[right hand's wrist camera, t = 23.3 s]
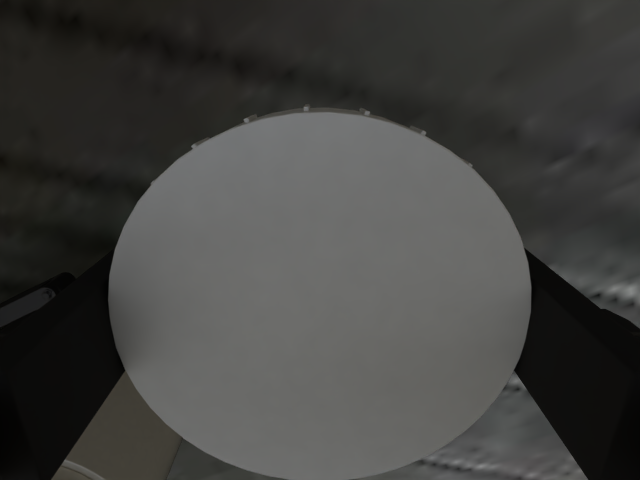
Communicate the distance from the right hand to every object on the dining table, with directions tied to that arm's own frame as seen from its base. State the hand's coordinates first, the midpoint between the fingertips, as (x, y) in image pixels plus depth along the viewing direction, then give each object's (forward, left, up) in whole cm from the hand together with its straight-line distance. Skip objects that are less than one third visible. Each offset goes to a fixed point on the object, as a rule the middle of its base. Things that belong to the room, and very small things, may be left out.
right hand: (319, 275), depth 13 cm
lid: (0, 0, +3) cm, 3 cm away
